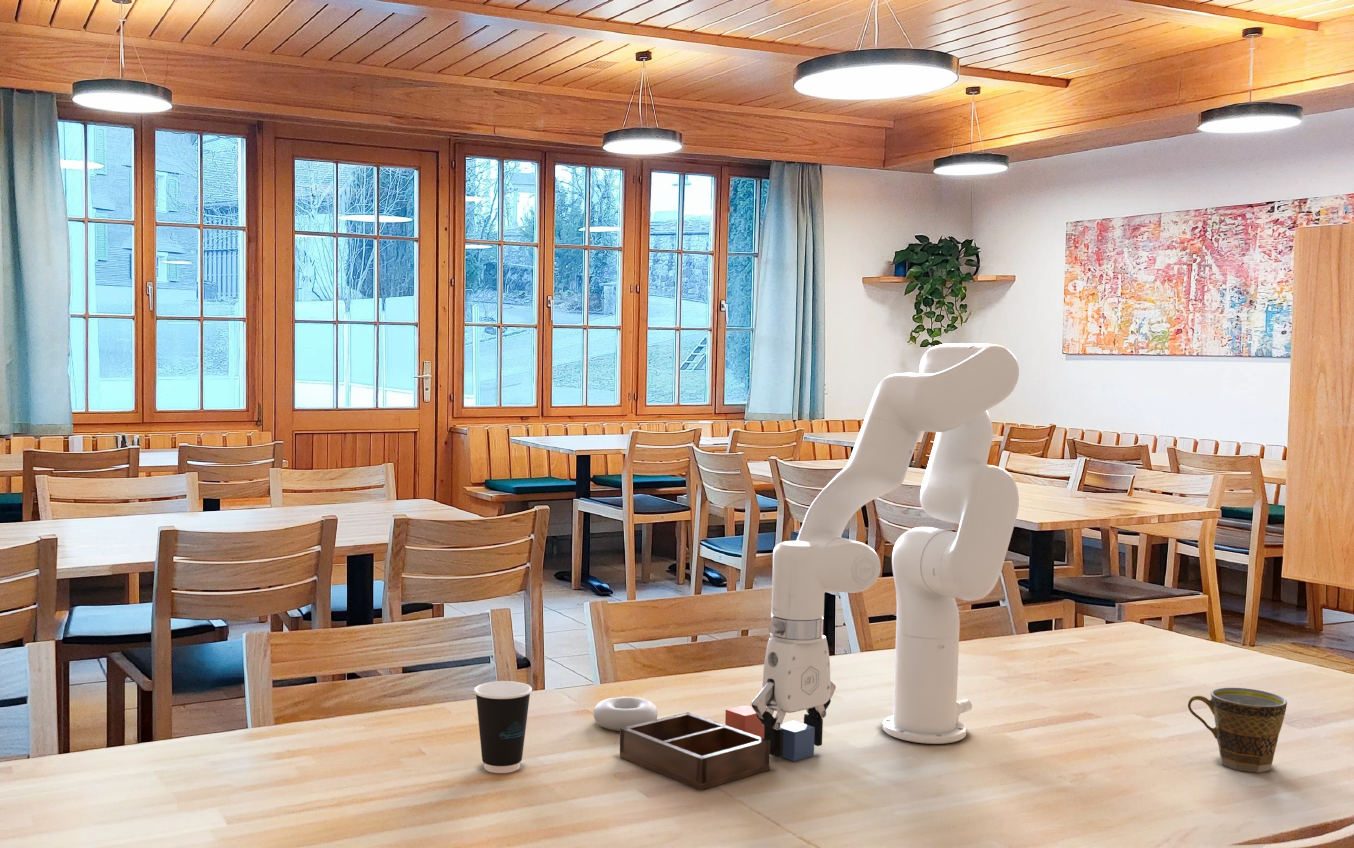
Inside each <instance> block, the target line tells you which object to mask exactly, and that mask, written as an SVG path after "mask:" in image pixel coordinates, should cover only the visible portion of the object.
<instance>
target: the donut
mask: <svg viewBox="0 0 1354 848" xmlns="http://www.w3.org/2000/svg"><path fill="white" fill-rule="evenodd" d="M592 715H593V719H594V721H595V723H597V725H598V726H600V727H602V728H603V729H606V730H609V731H616V732H620V728H623V727H627V726H631V725H636V724H640V723H644V722H648V721H653V720H657V719H658V715H659V712H658V708H657V706H656V705H655V704H654V702H651V701H649V700H647V699H646V698H642V697H636V696H615V697H609V698H606V699H603V700H601V701H600V702H598V703H597V704H596V706H595V707H594V709H593V713H592Z"/></svg>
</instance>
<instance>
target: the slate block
mask: <svg viewBox="0 0 1354 848" xmlns="http://www.w3.org/2000/svg"><path fill="white" fill-rule="evenodd" d="M780 728H781V729H783V732H784V733H783V755H782V756H781V757H780V758H783V759H786V760H789V761H792V762H797V761H800V760H804V759H807V758H810V757H814V756H815V745H814V736H815V727H813V726H810V725H807V724H804V722H800V721H797V720H793V719H792V720H790V721H785V722H782V724H781V727H780Z"/></svg>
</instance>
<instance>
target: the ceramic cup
mask: <svg viewBox="0 0 1354 848" xmlns="http://www.w3.org/2000/svg"><path fill="white" fill-rule="evenodd" d="M1210 696H1211V697H1210V699H1209V698H1207V697H1206V696H1203V695H1194V696H1192V697H1191V698H1189V700H1188V702H1187V708H1188V711H1189V712H1190V713H1191V715H1193V717H1195V718H1196V719H1198V720H1199V722H1201V723H1202V724H1203V725H1204V727H1206V729H1208V730H1209V731H1210V732H1211V733H1212V735H1213V737H1214V738H1215V740H1216V742H1217V745H1218V751H1219V752H1218V753H1219V759H1220V762H1221V765H1222V766H1225V767H1227V768H1230V769H1233V770H1235V771H1238V772H1239V771H1241V772H1248V773H1263V772H1268V771H1271V769H1272V764H1273V761H1274V756H1275V752H1276V748H1277V744H1278V740H1279V735H1280V733H1281V730H1282V728H1283V727H1282V726H1283V723H1284V719H1285V715H1286V711H1287V705H1288V701H1287V699H1286V698H1284V697H1282V696H1280V695H1278V694H1275V693H1272V692H1268V691H1264V690H1260V689H1253V688H1245V687H1219V688H1215V689H1212V690H1211V691H1210ZM1194 701H1201V702H1203V703H1204V704H1205V705H1207V706H1208V709H1209V710H1210V712H1211V713H1212V715H1213V718H1214V724H1215V726H1214V727H1211V726H1210V725H1209V724H1208V723H1207V722H1206V721H1205V720H1204V719H1203V718H1202V717H1201V716H1200V715H1199V714H1198V713H1196V712H1195V711H1194V710H1193V709H1192V703H1193V702H1194Z"/></svg>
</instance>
